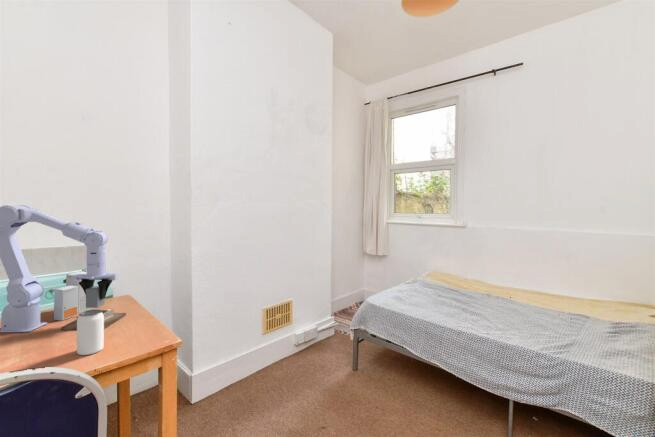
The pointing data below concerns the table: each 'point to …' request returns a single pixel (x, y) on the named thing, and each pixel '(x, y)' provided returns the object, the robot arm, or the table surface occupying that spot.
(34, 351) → the table surface
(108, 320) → the socket board
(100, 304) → the grey peg
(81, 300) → the skincare box
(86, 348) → the can
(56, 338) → the table surface
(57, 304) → the skincare box
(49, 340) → the table surface
